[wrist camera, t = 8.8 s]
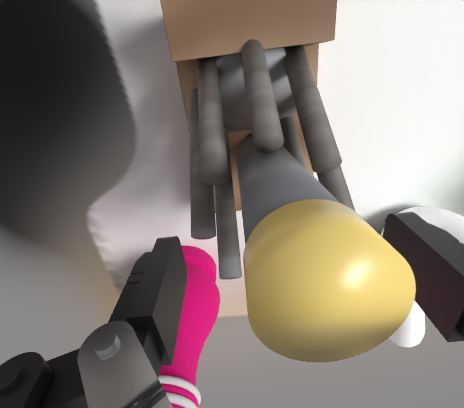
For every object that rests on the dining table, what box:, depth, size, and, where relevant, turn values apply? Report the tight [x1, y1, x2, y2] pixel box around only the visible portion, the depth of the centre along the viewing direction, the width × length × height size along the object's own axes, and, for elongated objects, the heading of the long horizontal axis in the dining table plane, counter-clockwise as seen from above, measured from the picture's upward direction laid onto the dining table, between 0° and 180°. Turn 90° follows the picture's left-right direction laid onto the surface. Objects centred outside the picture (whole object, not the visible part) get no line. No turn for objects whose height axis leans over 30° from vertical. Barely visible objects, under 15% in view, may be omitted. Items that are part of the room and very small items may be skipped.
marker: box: [236, 136, 416, 362], centre depth 10 cm, size 3×3×12 cm
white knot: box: [381, 206, 464, 348], centre depth 23 cm, size 11×12×9 cm
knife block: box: [160, 0, 355, 279], centre depth 15 cm, size 15×9×11 cm, turn 7°
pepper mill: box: [158, 246, 220, 408], centre depth 19 cm, size 7×7×20 cm
